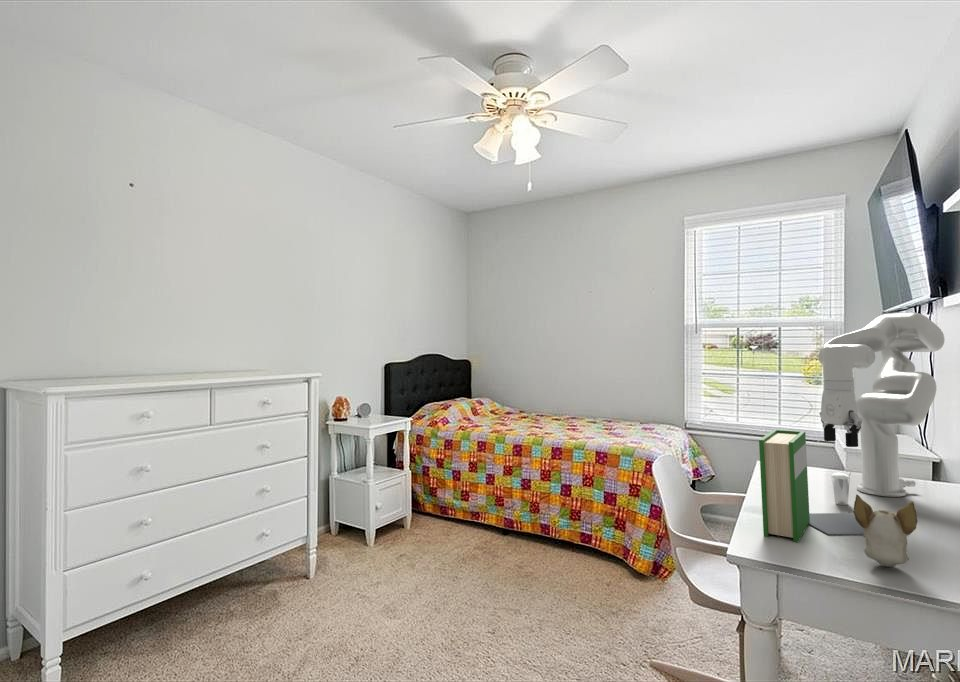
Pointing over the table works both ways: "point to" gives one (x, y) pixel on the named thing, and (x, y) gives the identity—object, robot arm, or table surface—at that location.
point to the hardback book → (784, 483)
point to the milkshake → (841, 487)
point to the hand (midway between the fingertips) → (840, 443)
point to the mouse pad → (836, 523)
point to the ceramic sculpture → (886, 532)
